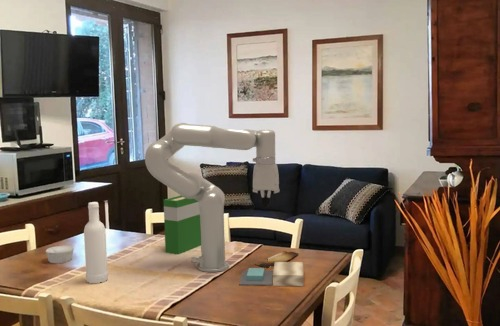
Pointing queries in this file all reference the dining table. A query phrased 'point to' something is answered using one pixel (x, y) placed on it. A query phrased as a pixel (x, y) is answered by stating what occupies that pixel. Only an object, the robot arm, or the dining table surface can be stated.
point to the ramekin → (59, 254)
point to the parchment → (278, 258)
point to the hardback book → (181, 224)
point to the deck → (288, 274)
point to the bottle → (95, 247)
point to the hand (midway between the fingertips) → (266, 206)
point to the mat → (266, 281)
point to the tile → (255, 274)
